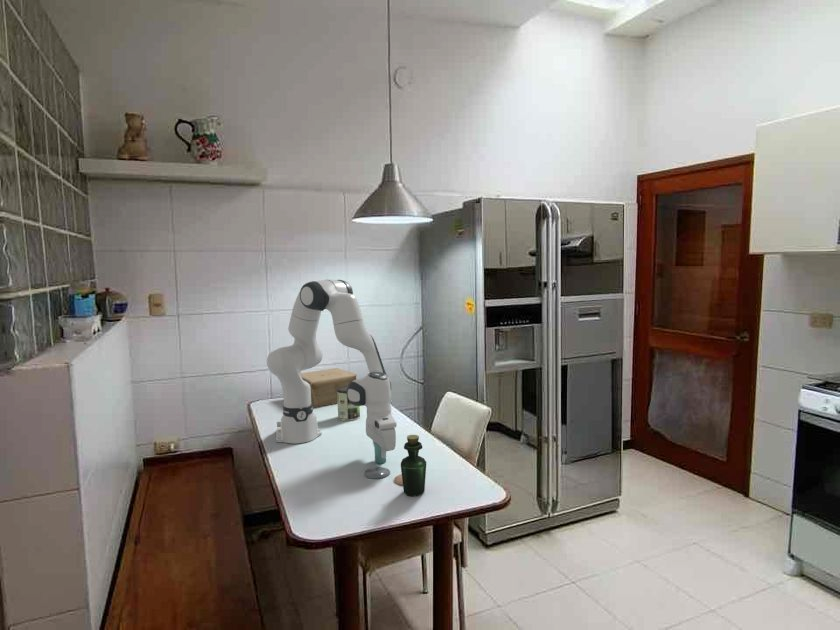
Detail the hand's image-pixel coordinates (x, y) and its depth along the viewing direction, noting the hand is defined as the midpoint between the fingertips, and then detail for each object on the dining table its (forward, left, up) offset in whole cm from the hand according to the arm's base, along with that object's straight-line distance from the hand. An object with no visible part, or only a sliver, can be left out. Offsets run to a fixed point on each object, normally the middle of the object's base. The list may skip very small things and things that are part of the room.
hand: (380, 454), depth 188 cm
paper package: (-93, +7, -3) cm, 94 cm away
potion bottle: (+28, 0, -3) cm, 28 cm away
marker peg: (0, 0, -3) cm, 3 cm away
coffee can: (-56, +7, -3) cm, 57 cm away
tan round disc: (+19, +2, -3) cm, 19 cm away
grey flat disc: (+9, -5, -3) cm, 11 cm away
